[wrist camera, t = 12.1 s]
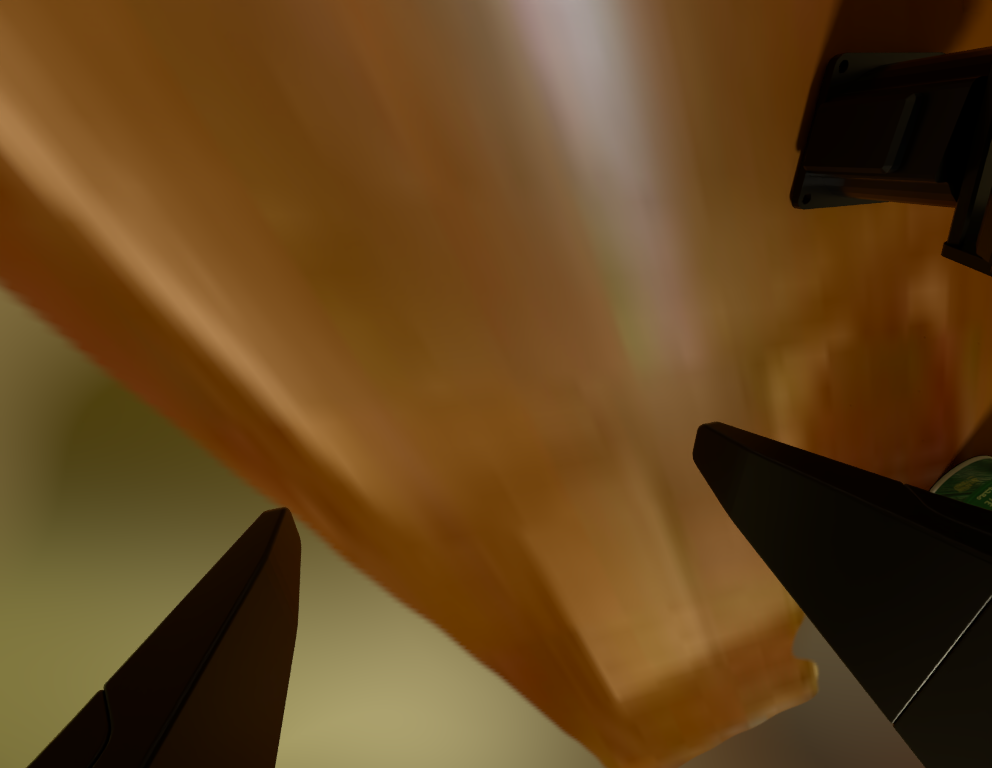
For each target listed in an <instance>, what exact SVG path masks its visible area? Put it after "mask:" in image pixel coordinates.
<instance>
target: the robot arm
mask: <svg viewBox="0 0 992 768" xmlns="http://www.w3.org/2000/svg"><path fill="white" fill-rule="evenodd" d="M839 65H840V69H839ZM803 197H804V200H803ZM802 200H803V201H802ZM882 202H899V203H910V204H921V205H931V206H942V207H953V208H955V211H954V215H953V219H952V223H951V227H950V231H949V236H948V240H947V241H946V242H944V245H943V249H942V253H941V255H942V256H943V257H946V258H948V259H951V260H953V261H955V262H958V263H960V264H963V265H965V266H967V267H970V268H972V269H975V270H977V271H979V272H982V273H984V274H987V275H989V276H991V277H992V46H990V47H984V48H978V49H972V50H967V51H961V52H955V53H949V54H945V53H844V54H840V55H836V56H834V57H833V58H832V59H831V60H830V62H829V63H828V66H827V68H826V72H825V76H824V80H823V83H822V87H821V91H820V95H819V99H818V102H817V106H816V110H815V114H814V118H813V121H812V125H811V129H810V133H809V137H808V140H807V144H806V148H805V152H804V156H803V159H802V163H801V167H800V171H799V175H798V178H797V182H796V186H795V190H794V194H793V197H792V206H793V207H794V208H797V209H814V208H826V207H837V206H848V205H859V204H871V203H882ZM693 460H694V462H695V464H696V466H697V467H698V469H699V470H700V472H701V474H702V475H703V477H704V478H705V480H706V481H707V483H708V484H709V486H710V488H711V489H712V491H713V492H714V494H715V495H716V497H717V499H718V500H719V502H720V503H721V505H722V506H723V508H724V509H725V511H726V512H727V514H728V515H729V517H730V518H731V520H732V521H733V522H734V524H735V525H736V526H737V528H738V529H739V530H740V531H741V533H742V534H743V535H744V536H745V538H746V539H747V540H748V542H749V543H750V544H751V545H752V547H753V548H754V549H755V550H756V552H757V553H758V554H759V556H760V557H761V558H762V559H763V561H764V562H765V563H766V565H767V566H768V567H769V568H770V570H771V571H772V572H773V573H774V575H775V576H776V577H777V579H778V580H779V581H780V582H781V584H782V585H783V586H784V587H785V589H786V590H787V591H788V593H789V594H790V595H791V596H792V598H793V599H794V600H795V602H796V603H797V604H798V605H799V607H800V608H801V609H802V610H803V612H804V613H805V614H806V616H807V617H808V618H809V619H810V621H811V622H812V623H813V624H814V625H815V627H816V628H817V630H818V631H819V632H820V633H821V635H822V636H823V637H824V638H825V640H826V641H827V642H828V644H829V645H830V646H831V647H832V649H833V650H834V651H835V652H836V654H837V655H838V656H839V658H840V659H841V660H842V662H843V663H844V664H845V665H846V667H847V668H848V669H849V670H850V672H851V673H852V674H853V675H854V677H855V678H856V679H857V681H858V682H859V683H860V684H861V686H862V687H863V688H864V690H865V691H866V692H867V693H868V695H869V696H870V697H871V698H872V700H873V701H874V702H875V704H876V705H877V706H878V707H879V709H880V710H881V711H882V713H883V714H884V715H885V716H886V717H887V719H888V720H889V721H890V722H891V723H892V724H893V727H894V728H895V730H896V731H897V732H898V733H899V735H900V736H901V737H902V739H903V740H904V741H905V742H906V744H907V745H908V746H909V748H910V749H911V750H912V751H913V753H914V754H915V755H916V756H917V758H918V759H919V760H920V762H921V763H922V764H923V765H924V767H925V768H992V511H991V510H988V509H984V508H981V507H978V506H974V505H971V504H967V503H964V502H961V501H958V500H955V499H952V498H948V497H945V496H942V495H939V494H936V493H933V492H930V491H927V490H924V489H921V488H918V487H915V486H912V485H909V484H903V483H901V482H899V481H896V480H893V479H890V478H887V477H884V476H881V475H878V474H875V473H872V472H869V471H866V470H863V469H860V468H857V467H854V466H851V465H848V464H845V463H842V462H839V461H836V460H833V459H830V458H827V457H824V456H821V455H818V454H814V453H811V452H808V451H805V450H802V449H799V448H796V447H793V446H790V445H787V444H784V443H781V442H778V441H775V440H772V439H769V438H766V437H763V436H760V435H757V434H754V433H751V432H748V431H745V430H742V429H739V428H736V427H733V426H730V425H727V424H724V423H721V422H711V423H706V424H702V425H700V426H699V428H698V430H697V434H696V439H695V443H694V448H693ZM300 563H301V540H300V536H299V533H298V531H297V528H296V525H295V522H294V520H293V517H292V514H291V512H290V510H289V509H288V508H286V507H282V508H277V509H272V510H267V511H265V512H263V513H262V514H261V515H260V516H259V517H258V518H257V519H256V521H255V522H254V523H253V524H252V525H251V526H250V527H249V528H248V529H247V530H246V531H245V532H244V534H243V535H242V536H241V537H240V538H239V539H238V540H237V541H236V542H235V543H234V544H233V545H232V547H231V548H230V549H229V550H228V551H227V552H226V553H225V554H224V555H223V556H222V557H221V558H220V560H219V561H218V562H217V563H216V564H215V565H214V566H213V567H212V568H211V569H210V571H208V573H207V574H206V575H205V576H204V577H203V578H202V579H201V580H200V581H199V583H197V585H196V586H195V587H194V588H193V589H192V590H191V591H190V592H189V593H188V594H187V595H186V597H185V598H184V599H183V600H182V601H181V602H180V603H179V604H178V605H177V606H176V608H174V610H173V611H172V612H171V613H170V614H169V615H168V616H167V617H166V618H165V619H164V621H162V623H161V624H160V625H159V626H158V627H157V628H156V629H155V630H154V631H153V633H152V634H151V635H150V636H149V637H148V638H147V639H146V640H145V641H144V642H143V643H142V644H141V645H140V646H139V648H138V649H137V650H136V651H135V652H134V653H133V654H132V655H131V656H130V657H129V658H128V659H127V661H126V662H125V663H124V664H123V665H122V666H121V667H120V668H119V669H118V670H117V672H116V673H115V674H114V675H113V676H112V677H111V678H110V679H109V680H108V681H107V682H106V683H105V685H104V690H100V691H98V692H97V693H96V694H95V695H94V696H93V697H92V698H91V699H90V700H89V702H88V703H87V704H86V705H85V706H84V707H83V708H82V709H81V710H80V711H79V712H78V713H77V715H76V716H75V717H74V718H73V719H72V720H71V721H70V722H69V723H68V724H67V725H66V726H65V727H64V728H63V729H62V731H61V732H60V733H59V734H58V735H57V736H56V737H55V738H54V739H53V740H52V741H51V742H50V743H49V744H48V745H47V746H46V747H45V748H44V749H43V751H42V752H41V753H40V754H39V755H38V756H37V757H36V758H35V759H34V760H33V761H32V762H31V763H30V764H29V765H28V766H27V767H26V768H275V764H276V757H277V752H278V746H279V739H280V733H281V727H282V721H283V715H284V709H285V701H286V696H287V690H288V684H289V678H290V672H291V665H292V659H293V653H294V647H295V640H296V634H297V626H298V611H299V587H300Z"/></svg>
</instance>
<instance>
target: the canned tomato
mask: <svg viewBox="0 0 992 768" xmlns="http://www.w3.org/2000/svg"><path fill="white" fill-rule="evenodd" d="M930 492H933V493H936V494H939V495H942V496H945V497H948V498H952V499H955V500H958V501H961V502H964V503H967V504H971V505H974V506H978V507H981V508H984V509H988V510H991V511H992V457H990V456H978V457H974V458H971V459H969V460H967V461H965V462H963V463H961V464H959V465H957V466H956V467H955V468H953V469H952V470H950V471H949V472H948V473H947V474H945V475H944V476H943V477H942V478H941V479H940V480H939V481H938V482H937V483H936V484H935V485H934V486H933V487H932V488H931V490H930Z"/></svg>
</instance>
